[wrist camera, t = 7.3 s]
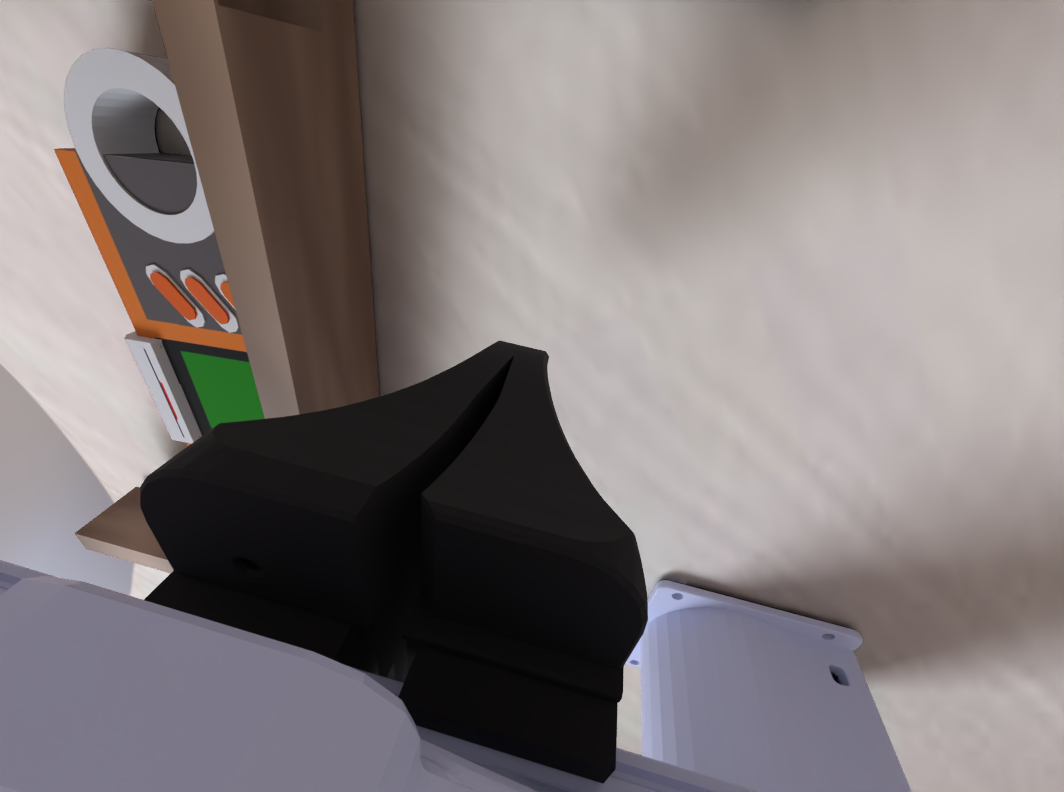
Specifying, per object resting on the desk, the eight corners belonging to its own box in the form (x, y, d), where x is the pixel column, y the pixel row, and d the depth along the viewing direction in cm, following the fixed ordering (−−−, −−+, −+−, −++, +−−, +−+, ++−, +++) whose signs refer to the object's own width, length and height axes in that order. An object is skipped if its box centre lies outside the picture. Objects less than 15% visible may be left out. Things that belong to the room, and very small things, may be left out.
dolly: (351, -30, 10) (189, -112, 6) (389, 544, 23) (343, 626, 19) (-126, -112, 11) (-505, -224, 7) (168, 484, 24) (84, 551, 20)
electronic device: (208, 52, 10) (327, 510, 18) (293, 70, 12) (364, 465, 20) (-27, 38, 11) (185, 480, 19) (97, 58, 13) (238, 441, 21)
